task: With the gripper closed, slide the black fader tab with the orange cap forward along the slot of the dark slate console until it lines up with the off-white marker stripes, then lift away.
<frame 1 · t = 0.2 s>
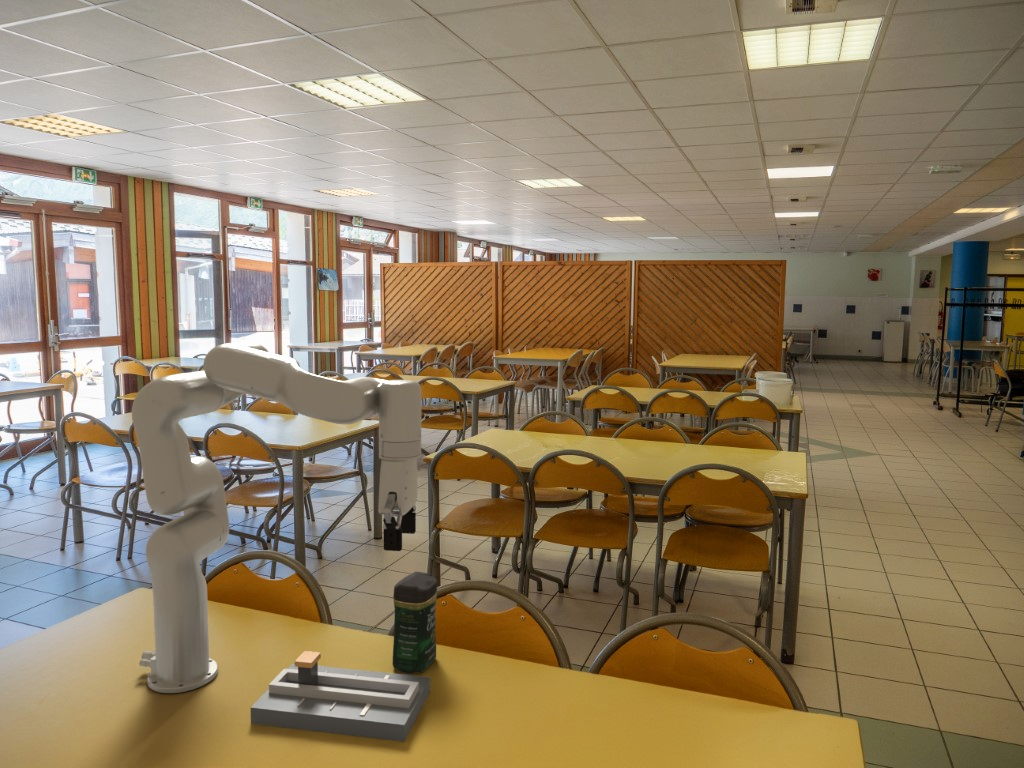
hand: (400, 541, 130), 31 cm above the table, tool pointing down, fingers open, 9 cm apart
coffee jar: (415, 664, 147), on the table
fader: (308, 672, 131), point 6 cm above the table, slide at -7.0 cm, touching console
console: (344, 707, 131), on the table
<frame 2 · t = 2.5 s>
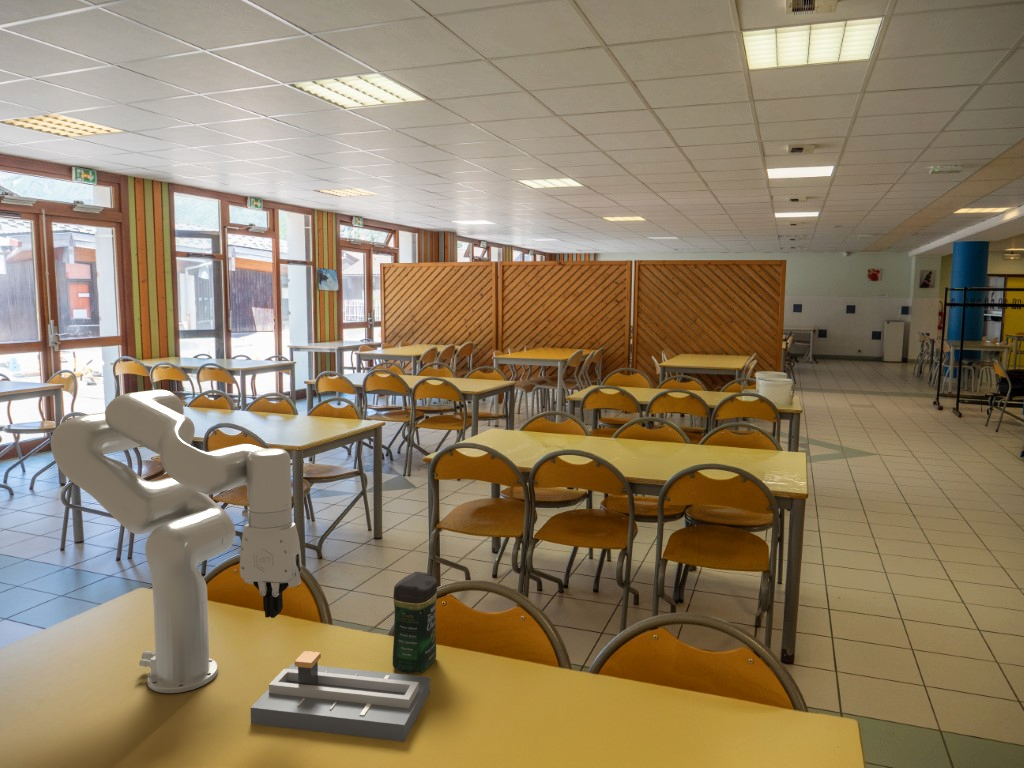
hand: (273, 614, 131), 17 cm above the table, tool pointing down, fingers closed
nothing on the table moved.
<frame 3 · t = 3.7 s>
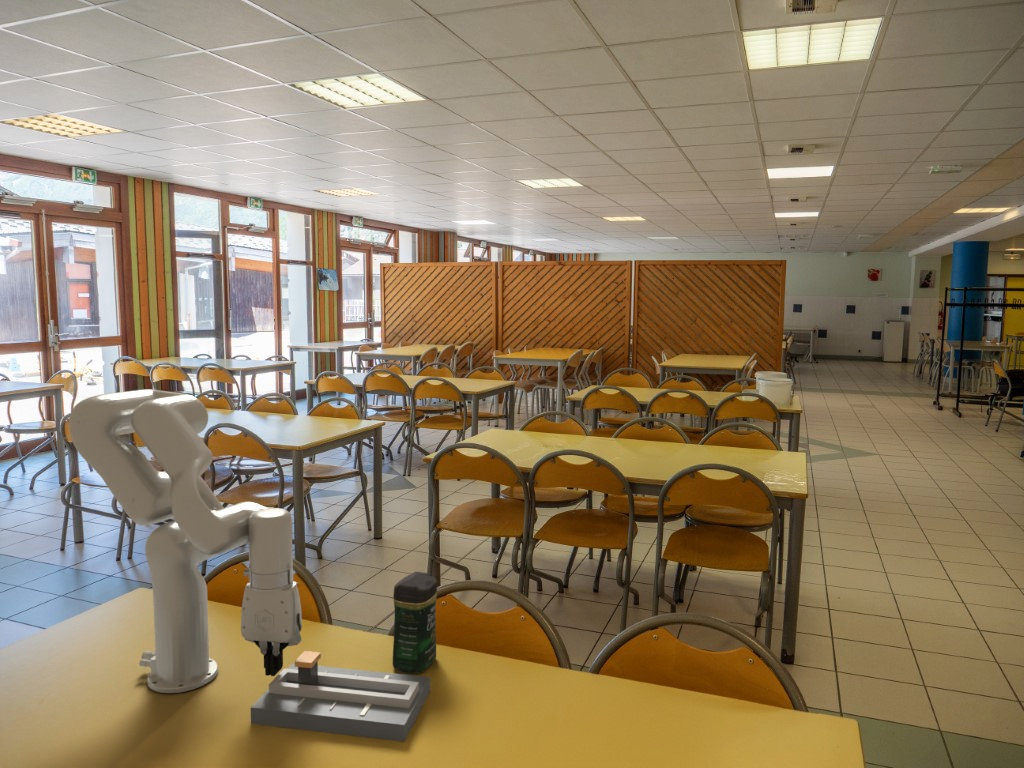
hand: (273, 672, 132), 5 cm above the table, tool pointing down, fingers closed
nothing on the table moved.
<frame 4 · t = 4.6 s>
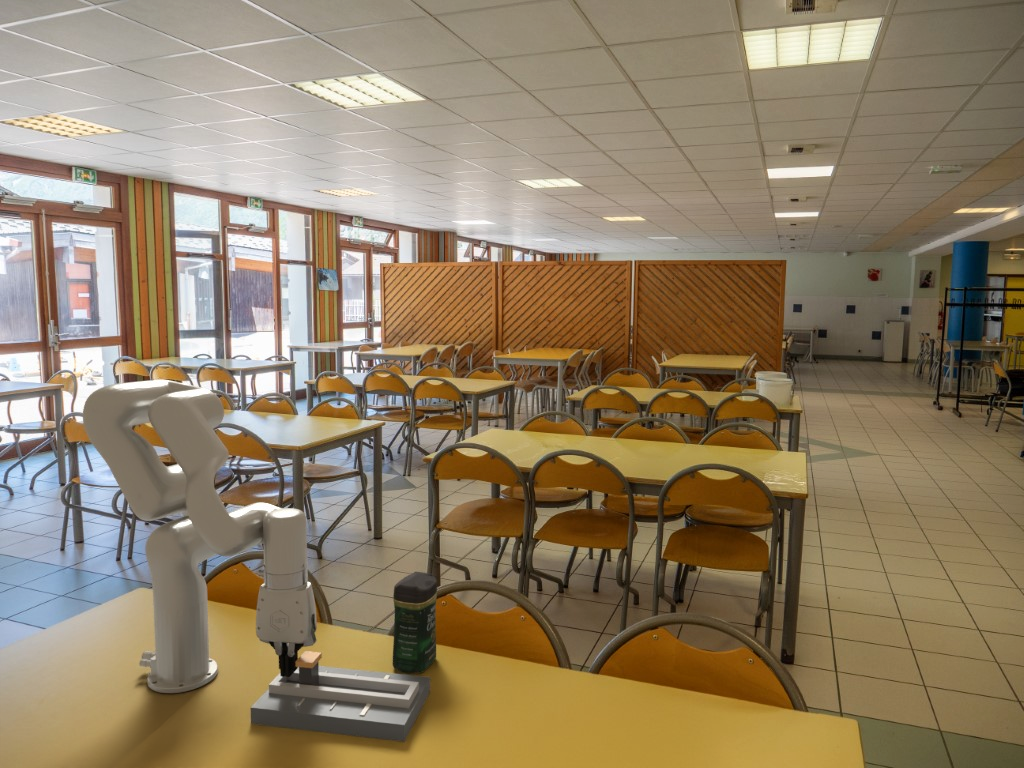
hand: (288, 673, 132), 5 cm above the table, tool pointing down, fingers closed
fader: (308, 672, 131), point 6 cm above the table, slide at -6.8 cm, touching console, gripper
everything else where it was.
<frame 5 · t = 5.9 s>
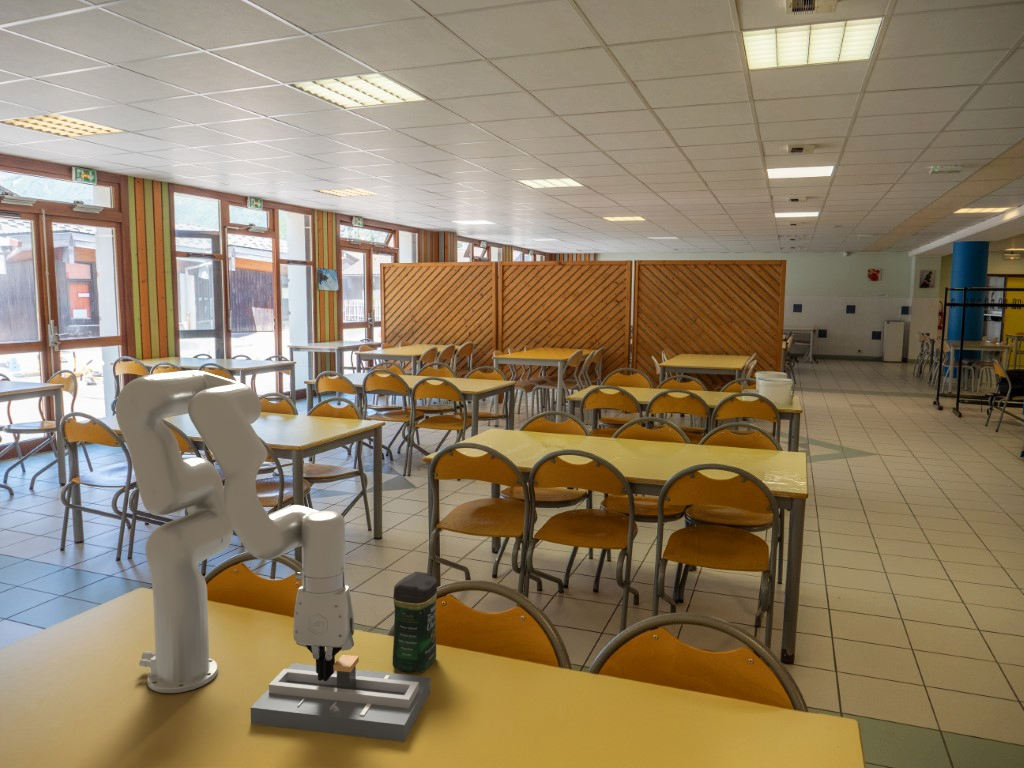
hand: (325, 676, 131), 5 cm above the table, tool pointing down, fingers closed
fader: (346, 676, 130), point 6 cm above the table, slide at 0.4 cm, touching console, gripper
everything else where it was.
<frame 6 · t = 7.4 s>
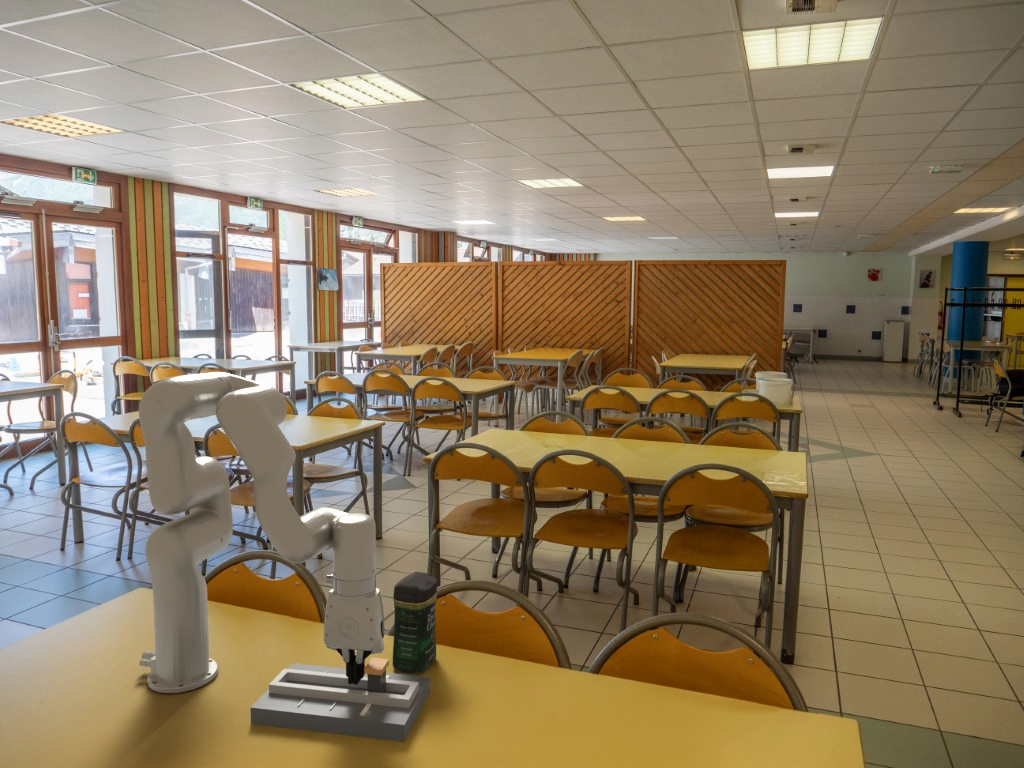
hand: (355, 680, 130), 5 cm above the table, tool pointing down, fingers closed
fader: (376, 679, 129), point 6 cm above the table, slide at 6.2 cm, touching console, gripper
everything else where it was.
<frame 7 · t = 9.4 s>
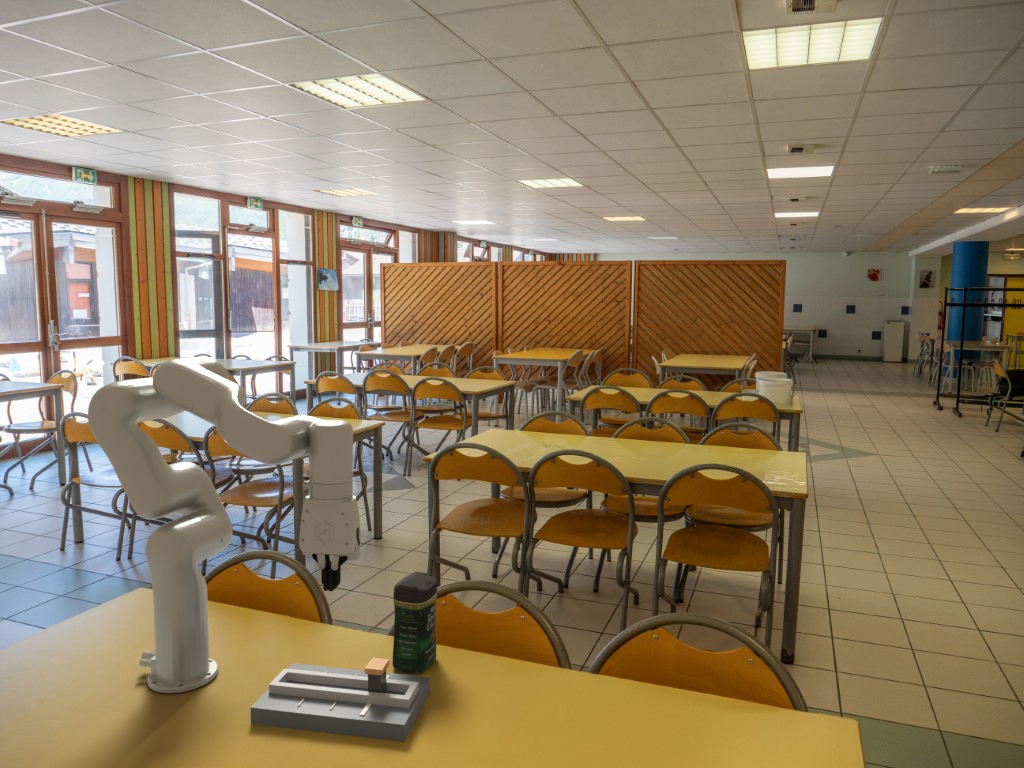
hand: (331, 588, 129), 22 cm above the table, tool pointing down, fingers closed
fader: (377, 679, 129), point 6 cm above the table, slide at 6.3 cm, touching console
everything else where it was.
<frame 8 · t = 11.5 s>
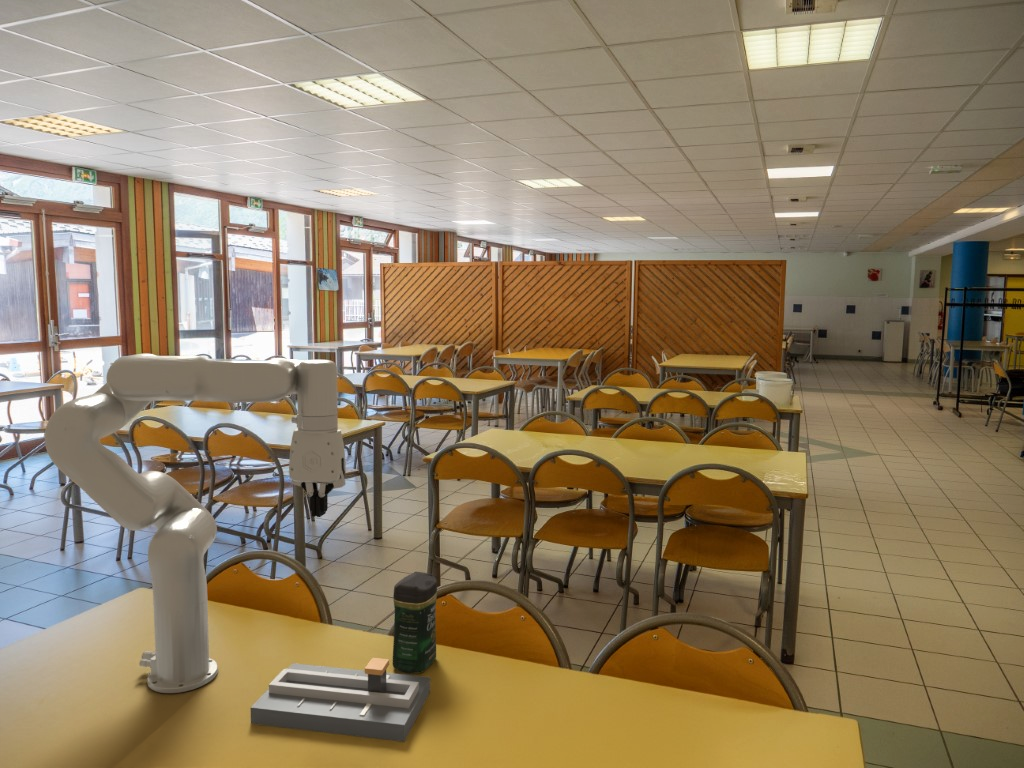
hand: (318, 514, 141), 32 cm above the table, tool pointing down, fingers closed
nothing on the table moved.
at the end: fader slide at 6.3 cm; the gripper is holding nothing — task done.
